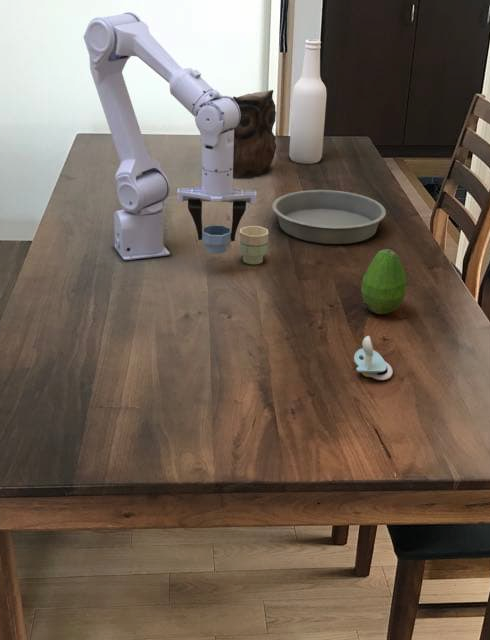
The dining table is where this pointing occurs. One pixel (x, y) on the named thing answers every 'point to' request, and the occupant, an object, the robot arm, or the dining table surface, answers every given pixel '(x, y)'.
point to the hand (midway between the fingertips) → (216, 238)
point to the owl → (254, 135)
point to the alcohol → (308, 109)
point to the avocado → (384, 283)
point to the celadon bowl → (253, 253)
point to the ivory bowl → (253, 235)
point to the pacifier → (371, 362)
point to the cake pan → (328, 216)
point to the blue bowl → (216, 238)
